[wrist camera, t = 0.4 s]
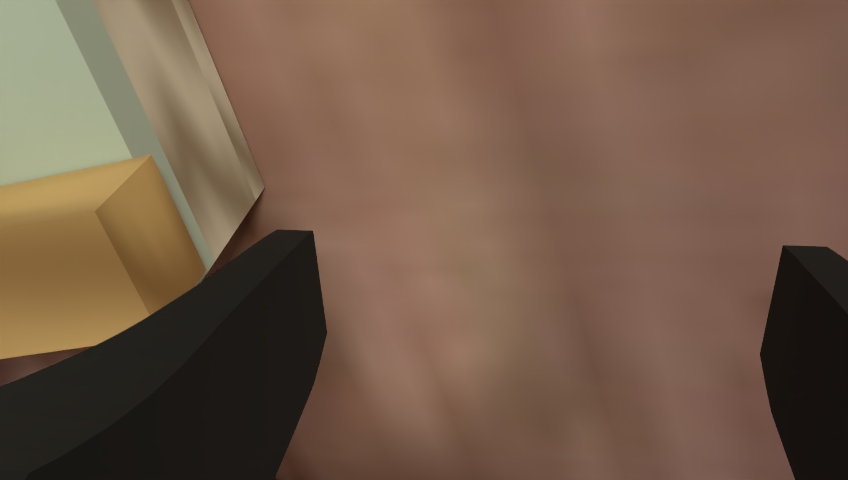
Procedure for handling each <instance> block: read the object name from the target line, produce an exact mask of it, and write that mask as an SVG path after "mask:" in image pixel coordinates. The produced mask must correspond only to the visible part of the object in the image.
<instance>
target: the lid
mask: <svg viewBox="0 0 848 480" xmlns="http://www.w3.org/2000/svg"><path fill="white" fill-rule="evenodd" d="M147 155H152V157H153V159H154V161H155V163H156V165H157V167H158V169H159V172H160V174H161V176H162V178H163V180H164V182H165V184H166V186H167V188H168V190H169V193H170V195H171V197H172V199H173V201H174V203H175V205H176V207H177V209H178V211H179V214H180V216H181V218H182V220H183V222H184V224H185V226H186V228H187V230H188V232H189V235H190V237H191V239H192V241H193V243H194V245H195V247H196V249H197V251H198V254H199V256H200V258H201V260H202V262H203V264H204V266H205V268H206V271H205V272H204V274H203V275H202V277H201V278H200V279H199V281H198V282H197V284H196V285H198V284H199V283H201V282H202V280H203V279H204V277H205V276H206V274H207V273H208V271H209V270H210V268H211V267H212V265H213V264H214V262H215V261H214V258H213V256H212V254H211V252H210V250H209V248H208V246H207V243H206V241H205V239H204V237H203V235H202V233H201V231H200V228H199V226H198V224H197V222H196V220H195V218H194V216H193V213H192V211H191V209H190V207H189V205H188V203H187V201H186V198H185V196H184V194H183V192H182V190H181V188H180V186H179V183H178V181H177V179H176V177H175V175H174V173H173V171H172V169H171V166H170V164H169V162H168V160H167V158H166V156H165V154H164V151H163V149H162V147H161V145H160V143H159V141H158V139H157V136H156V134H155V132H154V130H153V128H152V126H151V124H150V121H149V119H148V117H147V115H146V113H145V111H144V109H143V106H142V104H141V102H140V100H139V98H138V96H137V94H136V91H135V89H134V87H133V85H132V83H131V81H130V79H129V76H128V74H127V72H126V70H125V68H124V66H123V64H122V61H121V59H120V57H119V55H118V53H117V51H116V49H115V46H114V44H113V42H112V40H111V38H110V36H109V34H108V31H107V29H106V27H105V25H104V23H103V21H102V19H101V16H100V14H99V12H98V10H97V8H96V6H95V4H94V1H93V0H0V186H5V185H10V184H14V183H19V182H24V181H29V180H33V179H38V178H43V177H48V176H52V175H57V174H62V173H67V172H71V171H76V170H81V169H86V168H90V167H95V166H100V165H105V164H109V163H114V162H119V161H124V160H128V159H133V158H138V157H143V156H147ZM196 285H195V286H196Z"/></svg>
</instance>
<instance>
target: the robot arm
mask: <svg viewBox="0 0 848 480" xmlns="http://www.w3.org/2000/svg"><path fill="white" fill-rule="evenodd" d="M326 335H327V329H326V321H325V314H324V307H323V300H322V292H321V285H320V278H319V271H318V263H317V256H316V249H315V242H314V234H313V231H301V230H276V231H274V232H272V233H271V234H269V235H267V236H266V237H264V238H263V239H261V240H260V241H258V242H257V243H256V244H254V245H253V246H251V247H250V248H249V249H247V250H246V251H244V252H243V253H242V254H240V255H239V256H237V257H236V258H235V259H233V260H232V261H230V262H229V263H228V264H226V265H225V266H223V267H222V268H221V269H219V270H218V271H216V272H215V273H213V274H212V275H211V276H209V277H208V278H206V279H205V280H204V281H202V282H201V283H199V284H198V285H196V286H195V287H194V288H192V289H190V290H189V291H187V292H186V293H184V294H183V295H181V296H180V297H178V298H176V299H175V300H173V301H172V302H170V303H169V304H167V305H165V306H164V307H162V308H161V309H159V310H158V311H156V312H155V313H153V314H151V315H150V316H148V317H147V318H145V319H143V320H142V321H140V322H138V323H136V324H135V325H133V326H131V327H129V328H128V329H126V330H124V331H122V332H120V333H119V334H117V335H115V336H113V337H111V338H109V339H107V340H105V341H103V342H101V343H99V344H97V345H95V346H93V347H92V348H90V349H88V350H85V351H83V352H81V353H79V354H77V355H75V356H72V357H70V358H68V359H66V360H63V361H61V362H59V363H56V364H54V365H52V366H49V367H47V368H45V369H42V370H40V371H38V372H36V373H33V374H31V375H29V376H26V377H24V378H22V379H19V380H16V381H14V382H11V383H9V384H6V385H3V386H0V480H274V478H275V476H276V473H277V471H278V469H279V466H280V464H281V462H282V459H283V457H284V454H285V452H286V450H287V447H288V445H289V443H290V440H291V438H292V436H293V433H294V431H295V429H296V426H297V424H298V421H299V419H300V417H301V414H302V412H303V409H304V407H305V404H306V402H307V400H308V397H309V395H310V392H311V390H312V387H313V385H314V381H315V378H316V374H317V370H318V367H319V363H320V359H321V355H322V351H323V347H324V343H325V339H326ZM760 357H761V362H762V368H763V373H764V379H765V384H766V389H767V394H768V398H769V403H770V408H771V412H772V415H773V418H774V421H775V424H776V427H777V430H778V433H779V435H780V438H781V441H782V444H783V447H784V450H785V452H786V455H787V458H788V461H789V464H790V466H791V469H792V472H793V475H794V477H795V480H848V261H847V260H846V259H844V258H843V257H841V256H840V255H838V254H837V253H836V252H834V251H832V250H831V249H829V248H828V247H816V246H784V245H783V248H782V252H781V257H780V262H779V267H778V271H777V276H776V281H775V285H774V290H773V295H772V300H771V304H770V309H769V314H768V319H767V323H766V328H765V333H764V337H763V342H762V347H761V352H760Z"/></svg>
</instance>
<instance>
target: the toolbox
mask: <svg viewBox="0 0 848 480" xmlns="http://www.w3.org/2000/svg"><path fill="white" fill-rule="evenodd" d="M93 1H94V4H95V6H96V8H97V10H98V12H99V14H100V16H101V19H102V21H103V23H104V25H105V27H106V29H107V31H108V34H109V36H110V38H111V40H112V42H113V44H114V46H115V49H116V51H117V53H118V55H119V57H120V59H121V61H122V64H123V66H124V68H125V70H126V72H127V74H128V76H129V79H130V81H131V83H132V85H133V87H134V89H135V91H136V94H137V96H138V98H139V100H140V102H141V104H142V106H143V109H144V111H145V113H146V115H147V117H148V119H149V121H150V124H151V126H152V128H153V130H154V132H155V134H156V136H157V139H158V141H159V143H160V145H161V147H162V149H163V151H164V154H165V156H166V158H167V160H168V162H169V164H170V166H171V169H172V171H173V173H174V175H175V177H176V179H177V181H178V183H179V186H180V188H181V190H182V192H183V194H184V196H185V198H186V201H187V203H188V205H189V207H190V209H191V211H192V213H193V216H194V218H195V220H196V222H197V224H198V226H199V228H200V231H201V233H202V235H203V237H204V239H205V241H206V243H207V246H208V248H209V250H210V252H211V254H212V256H213V258H214V261H216V259H217V258H218V256H219V255H220V253H221V252H222V250H223V249H224V247H225V246H226V244H227V243H228V241H229V240H230V238H231V237H232V235H233V234H234V232H235V231H236V229H237V228H238V227H239V225H240V224H241V222H242V221H243V219H244V218H245V216H246V215H247V213H248V212H249V210H250V209H251V207H252V206H253V204H254V203H255V201H256V200H257V198H258V197H259V195H260V194H261V192H262V191H263V189H264V188H265V187H264V185H263V182H262V180H261V177H260V175H259V172H258V170H257V168H256V165H255V163H254V160H253V158H252V155H251V153H250V150H249V148H248V146H247V143H246V141H245V138H244V136H243V133H242V131H241V129H240V126H239V124H238V121H237V119H236V116H235V114H234V111H233V109H232V107H231V104H230V102H229V99H228V97H227V94H226V92H225V90H224V87H223V85H222V82H221V80H220V77H219V75H218V72H217V70H216V68H215V65H214V63H213V60H212V58H211V55H210V53H209V51H208V48H207V46H206V43H205V41H204V38H203V36H202V33H201V31H200V29H199V26H198V24H197V21H196V19H195V16H194V14H193V12H192V9H191V7H190V4H189V2H188V0H93Z"/></svg>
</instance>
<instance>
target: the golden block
mask: <svg viewBox="0 0 848 480" xmlns="http://www.w3.org/2000/svg"><path fill="white" fill-rule="evenodd" d="M205 271H206V268H205V266H204V264H203V262H202V260H201V258H200V256H199V254H198V251H197V249H196V247H195V245H194V243H193V241H192V239H191V237H190V235H189V232H188V230H187V228H186V226H185V224H184V222H183V220H182V218H181V216H180V214H179V211H178V209H177V207H176V205H175V203H174V201H173V199H172V197H171V195H170V193H169V190H168V188H167V186H166V184H165V182H164V180H163V178H162V176H161V174H160V172H159V169H158V167H157V165H156V163H155V161H154V159H153V157H152V155H147V156H143V157H138V158H133V159H128V160H124V161H119V162H114V163H109V164H105V165H100V166H95V167H90V168H86V169H81V170H76V171H71V172H67V173H62V174H57V175H52V176H48V177H43V178H38V179H33V180H29V181H24V182H19V183H14V184H10V185H5V186H0V359H5V358H12V357H19V356H26V355H33V354H40V353H47V352H54V351H61V350H68V349H75V348H82V347H89V346H95V345H97V344H99V343H101V342H103V341H105V340H107V339H109V338H111V337H113V336H115V335H117V334H119V333H120V332H122V331H124V330H126V329H128V328H129V327H131V326H133V325H135V324H136V323H138V322H140V321H142V320H143V319H145V318H147V317H148V316H150V315H151V314H153V313H155V312H156V311H158V310H159V309H161V308H162V307H164V306H165V305H167V304H169V303H170V302H172V301H173V300H175V299H176V298H178V297H180V296H181V295H183V294H184V293H186V292H187V291H189V290H190V289H192V288H194V287H195V285H196V284H197V282H198V281H199V279H200V278H201V277H202V275H203V274H204V272H205Z"/></svg>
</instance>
